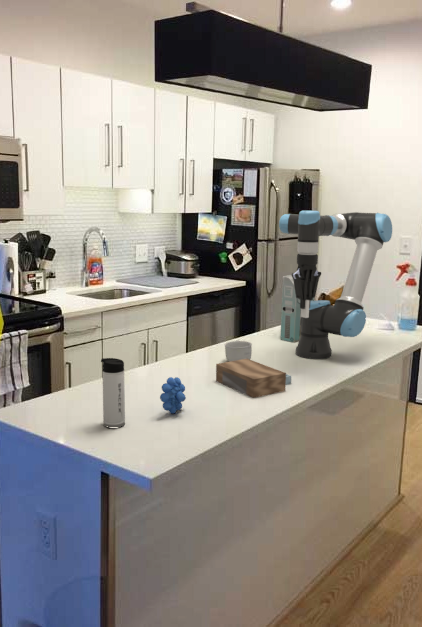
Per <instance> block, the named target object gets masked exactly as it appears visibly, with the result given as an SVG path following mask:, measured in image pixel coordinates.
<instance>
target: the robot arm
mask: <svg viewBox="0 0 422 627" xmlns="http://www.w3.org/2000/svg"><path fill="white" fill-rule="evenodd" d="M278 227H279V231H280V232H281V233H283V234H288V235H297V247H296V249H297V254H296V264H297V268H296V271H295V272H292V273H291V275H292V277H293V280H294V287H295V294H296V298H298V299H300V308H301V336H300V339H299V341H297V342H298V343H297V346H296V347H295V355H296V356H298V357H300V358H301V357H302V358H304V359H311V360H312V359H313V360H314V359H315V360H321V359H328V358H331V357H332V355H333V354H332V352H333V349H332V348H331V343H330V338H329V334H330V335H336V336H342V337H344V338H346V337H348V338H355V337H357V336H359V335H360V334H361V333H362V332H363V329H364V328H365V326H366V322H367V315H366V312H365V311H364V306H363V304H362V302H363V299H364V295H365V292H366V288H367V286H368V283H369V279H370V277H371V273H372V269H373V266H374V262H375V259H376V257H377V256H376V255H377V253H378V251H380V250H382V249H383V245H384V244H385V243H388V242H390V241H391V239H392V236H393V223H392V220H391V218H390V216H389V215H388V214H386V213H379V212H359V211H358V212H357V211H355V212H346V213H345V212H344V213H335V214H332V215H328V214H324V215H321V213H320V211H319V210H301V211H299V213H298V214H294V213H293V214H292V213H285V214H283V215H281V216H280V218H279V221H278ZM329 236H331V237H336V238H344V239H348V240H354V242H355V245H356V246H355V247H356V248H355V250H354V255H353V256H352V260H351V262H350V266H349V270H348V274H347V276H346V280H345V282H344V286H343V289H342V292H341V295H340V297H338V298H337V299H335V301H334V305H331V301H330V300H325V299H323V300H321V299H320V300H314V301H310V300H313V298H314V297H315V298H316V295H317V294H316V293H317V289H318V285H319V280H320V278H321V275H322V272H321V271H318V269H317V265H318V264H319V262H318V260H319V259H318V258H319V255H318V254H319V242H320V241H319V239H320V237H329Z"/></svg>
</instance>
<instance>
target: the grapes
mask: <svg viewBox="0 0 422 627" xmlns="http://www.w3.org/2000/svg"><path fill="white" fill-rule="evenodd" d="M181 380H182V379H181V378H180V377H172V376H170V377H168V378H167V379H166V383H165V382H164V383H163V384H162V385H161V390H162V393H161V394H160V395H159V399H160V401H161V402H162V408H163V410H164V411H165V412H167V411H168V412H169V413H170V414H175V413H176V412H177V411H180V410H182V408H183V402H184V401H185V400H186V399H187V397H186V395H185V391H186V386H185V385H184V383H182V381H181Z"/></svg>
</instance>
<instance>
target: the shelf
mask: <svg viewBox="0 0 422 627" xmlns="http://www.w3.org/2000/svg"><path fill="white" fill-rule="evenodd" d="M215 374H216V375H215V381H216V383H220V384H221V385H224V386H226V387H228V388H230V389H233V390H235V391H236V392H240V393H241V394H244V395H246V396H248V397H250V398H252V399H256V398H260V397H265V396H268V395H269V396H270V395H273V394H277V393H282V392H286V386H287V385H286V374H287V373H286V372H285V371H283V370H279V369H276V368H274V367H270V366H269V365H265V364H263V363H260V362H257V361H256V360H255V361H254V360H253V359H242V360H236V361H230V362H229V361H225V362H219V363H216V366H215Z"/></svg>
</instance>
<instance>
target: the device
mask: <svg viewBox="0 0 422 627" xmlns="http://www.w3.org/2000/svg"><path fill="white" fill-rule="evenodd" d="M281 290H282V292H281V311H280V312H281V316H280V317H281V318H280V336H279V337H280V339H279V340H280V341H283V342H288V343H296V342H299V339H300V336H301V308H300V299H298V298H296V294H295V287H294V280H293V277H292V274H288V275H283V276H282V287H281ZM315 298H316V296H315V297H314V298H313V300H310V301H315Z"/></svg>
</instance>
